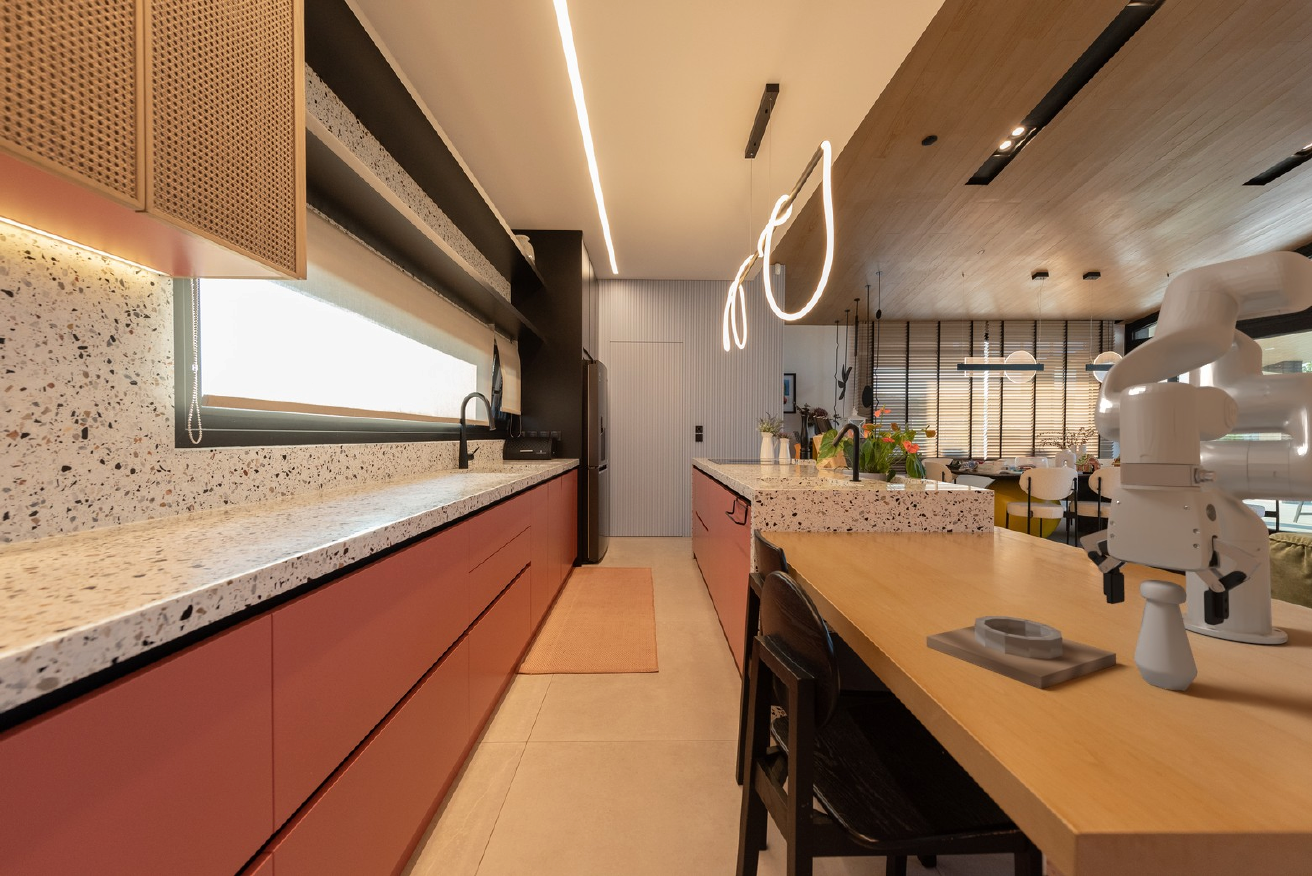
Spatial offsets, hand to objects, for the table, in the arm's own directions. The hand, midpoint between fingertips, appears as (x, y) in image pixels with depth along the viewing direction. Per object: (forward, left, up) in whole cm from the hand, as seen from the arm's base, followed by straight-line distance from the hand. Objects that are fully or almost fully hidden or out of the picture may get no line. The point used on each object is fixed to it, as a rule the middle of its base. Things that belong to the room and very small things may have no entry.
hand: (1161, 612), depth 67 cm
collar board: (+6, -14, -9) cm, 18 cm away
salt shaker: (-1, 0, -9) cm, 9 cm away
